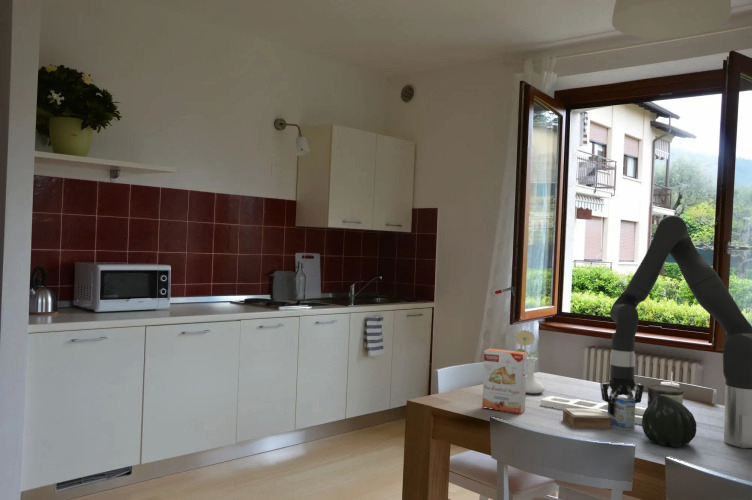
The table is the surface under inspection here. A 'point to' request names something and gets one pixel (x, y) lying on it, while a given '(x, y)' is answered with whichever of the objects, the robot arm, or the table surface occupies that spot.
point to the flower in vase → (529, 361)
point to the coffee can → (664, 392)
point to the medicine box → (623, 412)
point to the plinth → (586, 418)
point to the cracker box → (504, 380)
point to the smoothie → (670, 382)
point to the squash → (668, 422)
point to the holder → (584, 405)
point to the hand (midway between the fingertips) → (621, 414)
